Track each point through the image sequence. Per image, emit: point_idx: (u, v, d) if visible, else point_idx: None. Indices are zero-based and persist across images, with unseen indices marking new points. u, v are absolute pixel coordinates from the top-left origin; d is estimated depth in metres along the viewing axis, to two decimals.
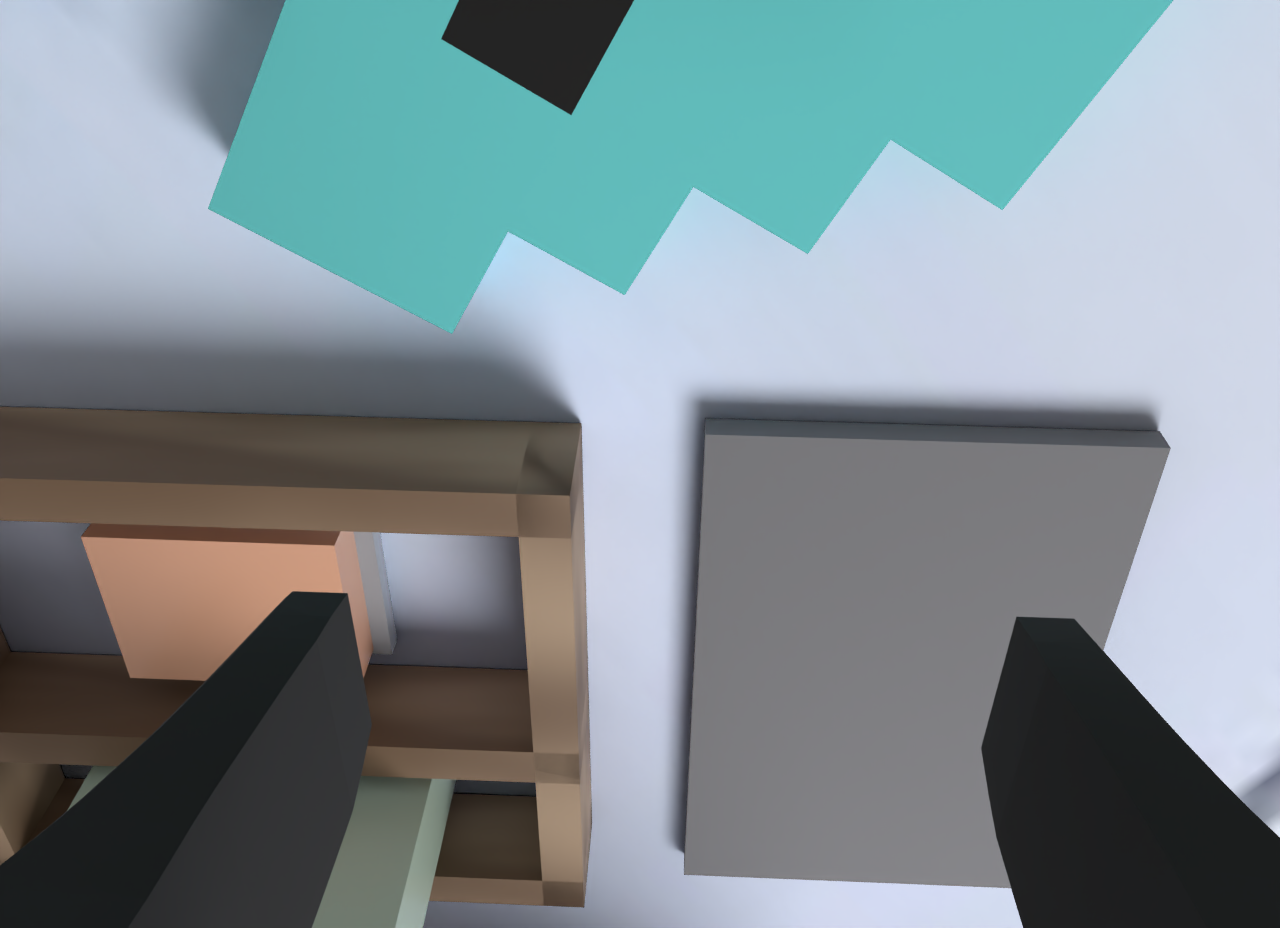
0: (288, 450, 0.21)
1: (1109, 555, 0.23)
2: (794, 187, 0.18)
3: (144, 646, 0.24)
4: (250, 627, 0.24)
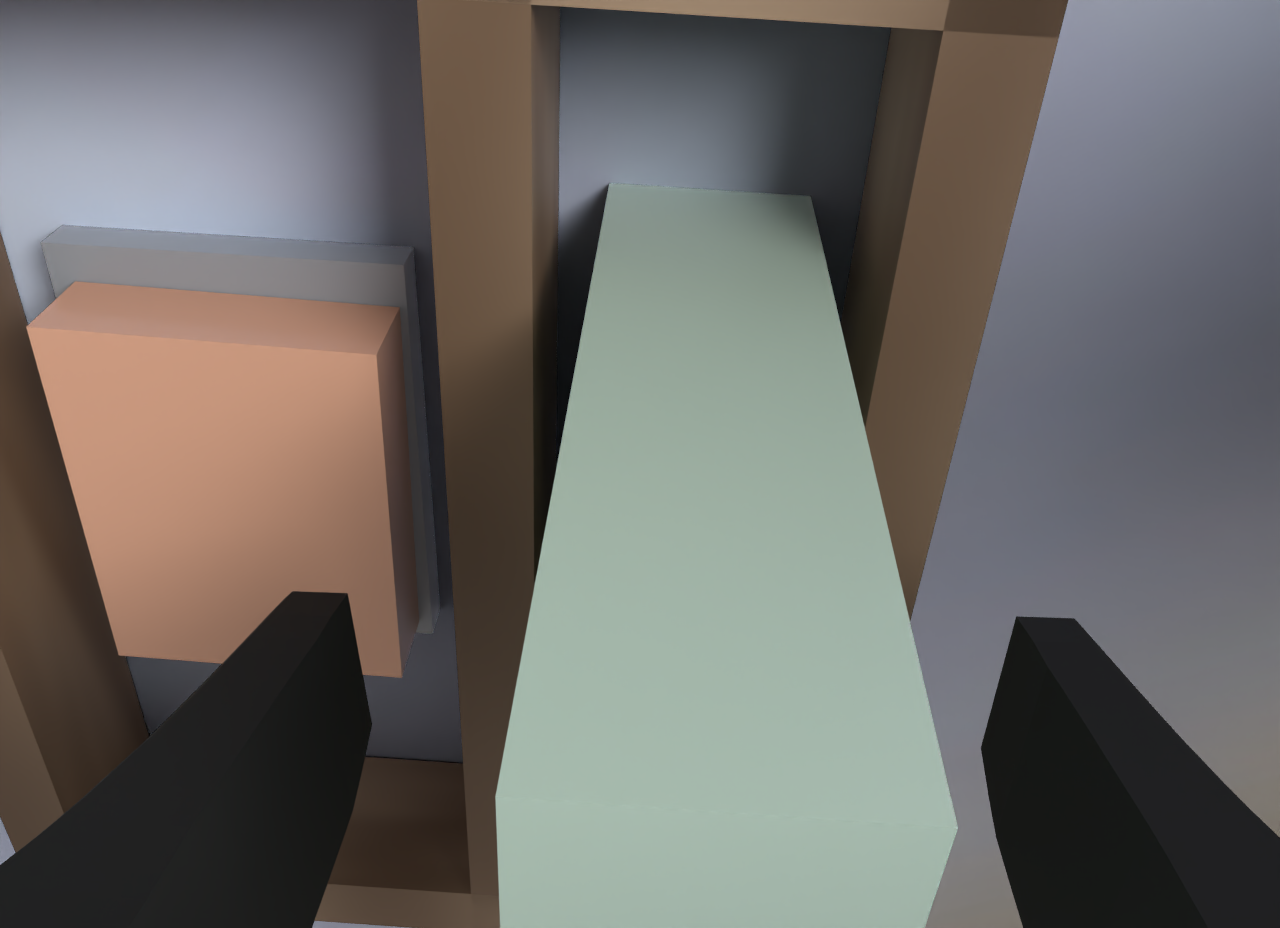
0: None
1: None
2: None
3: None
4: (253, 495, 0.14)
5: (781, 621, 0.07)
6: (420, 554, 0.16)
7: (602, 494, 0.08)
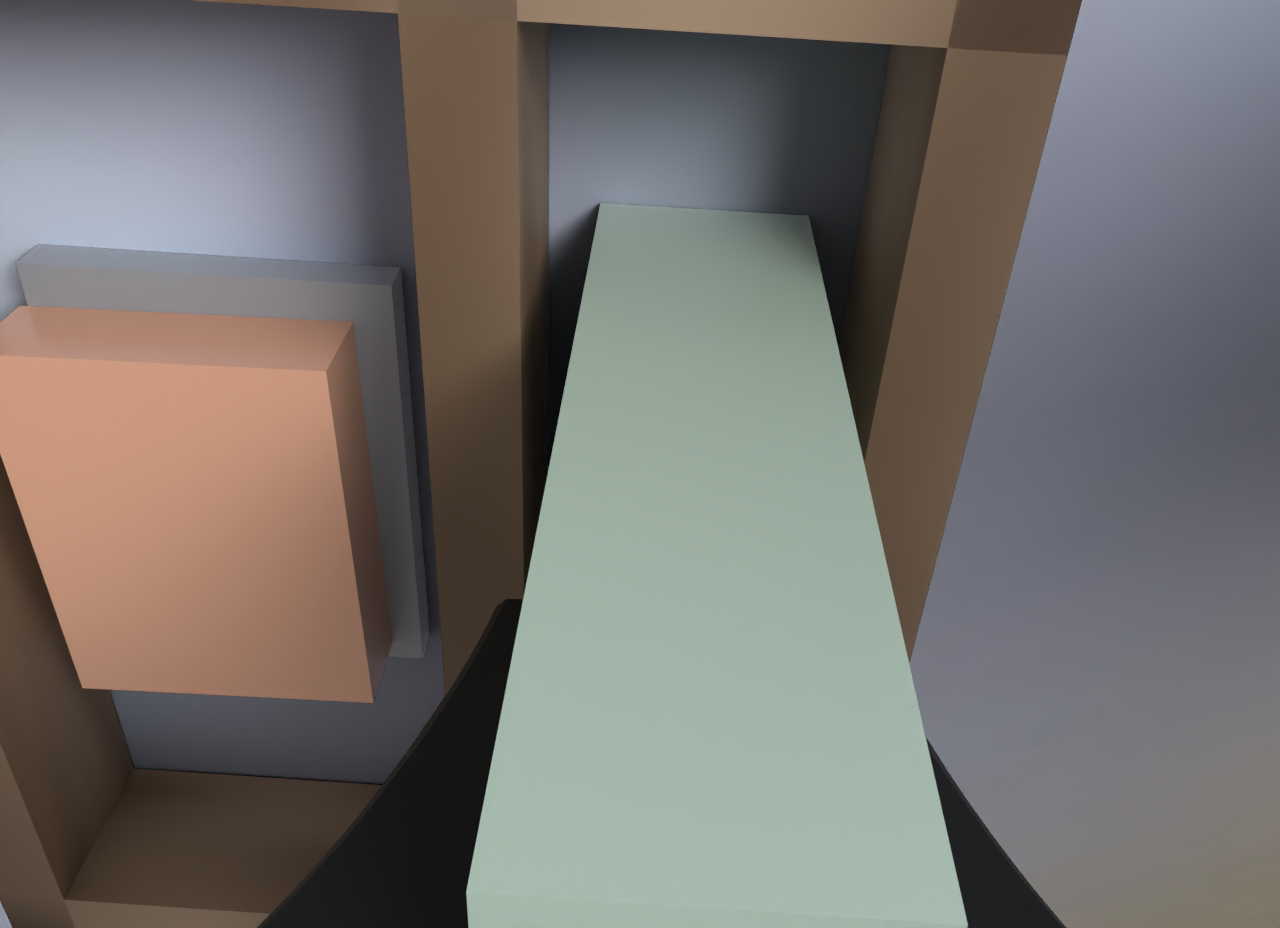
0: None
1: None
2: None
3: (295, 669, 0.15)
4: (208, 520, 0.13)
5: (777, 686, 0.06)
6: (409, 579, 0.15)
7: (587, 543, 0.08)
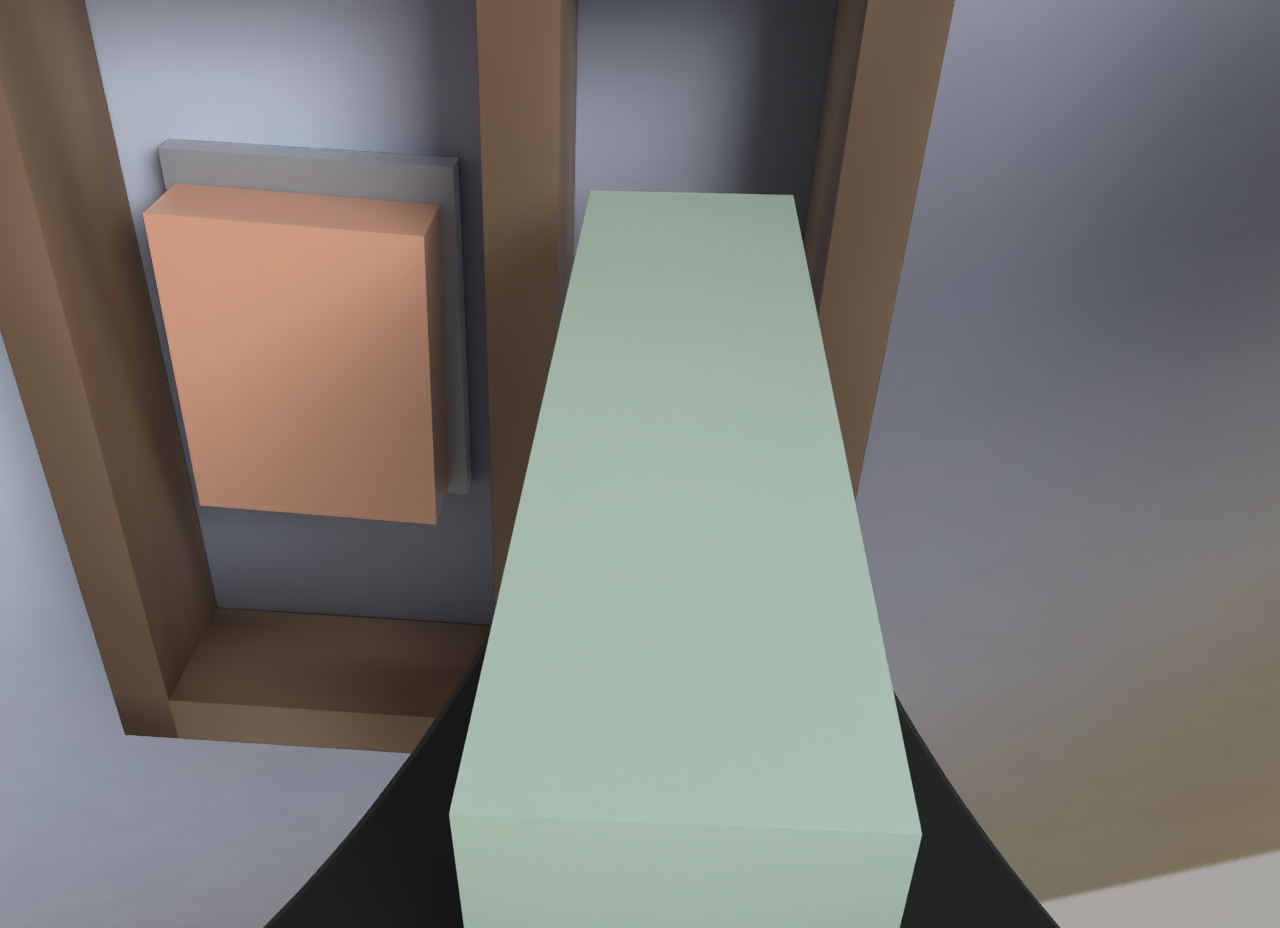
0: None
1: None
2: None
3: (375, 492, 0.18)
4: (319, 359, 0.17)
5: (746, 625, 0.07)
6: (459, 421, 0.19)
7: (571, 501, 0.08)
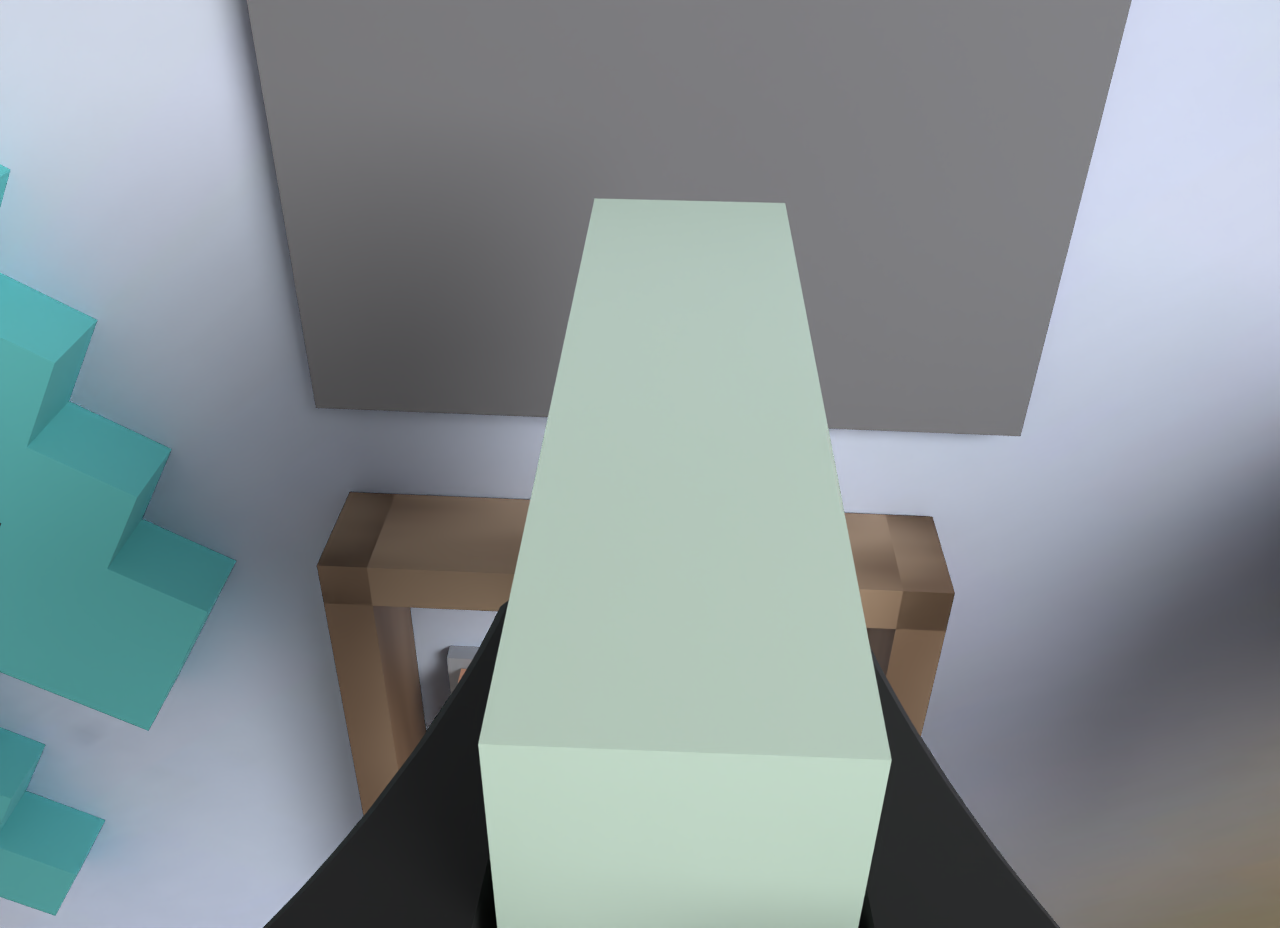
0: None
1: None
2: (0, 375, 0.21)
3: None
4: None
5: (739, 586, 0.08)
6: None
7: (580, 480, 0.09)
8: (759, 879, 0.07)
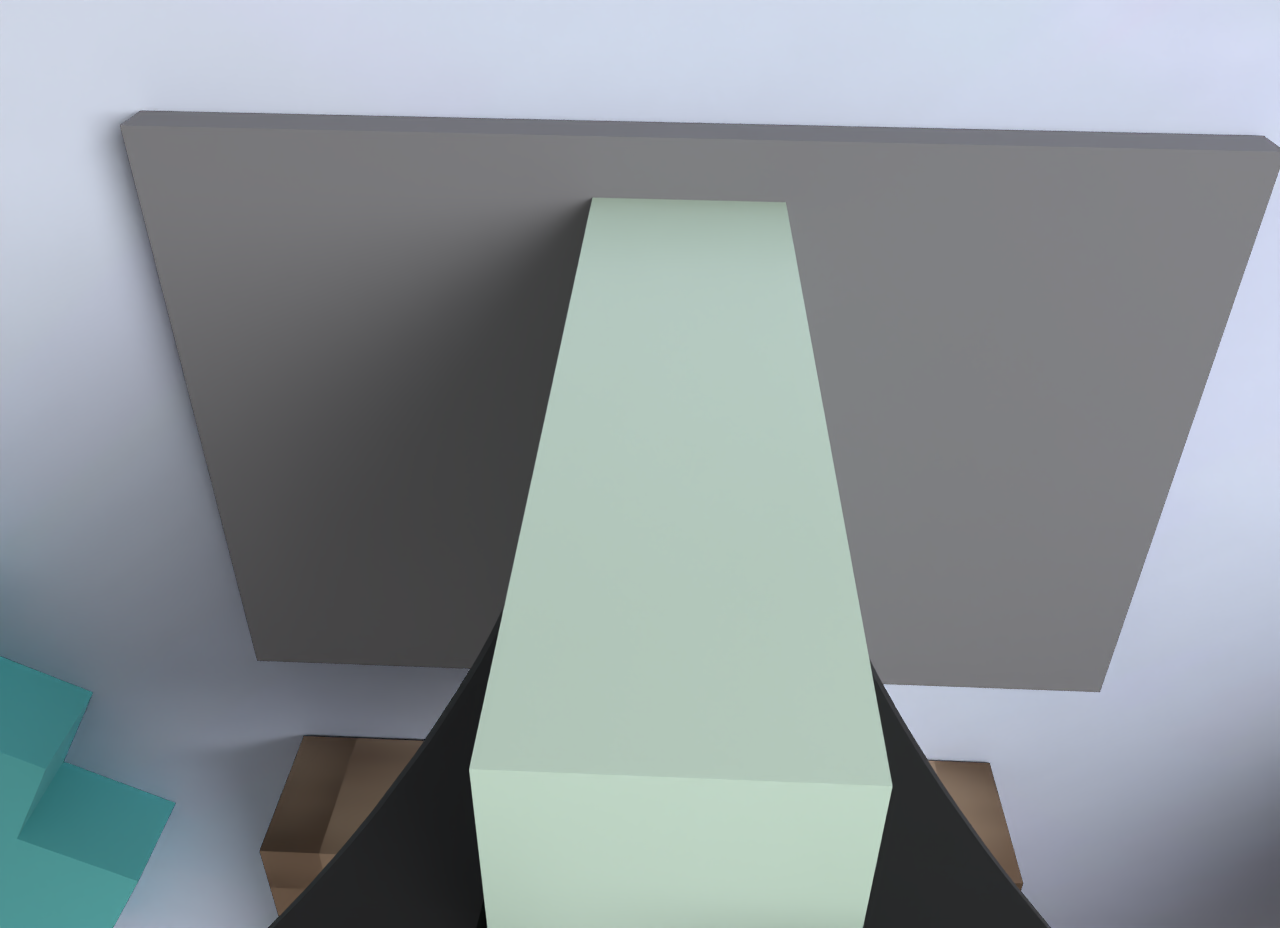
0: None
1: (344, 171, 0.14)
2: None
3: None
4: None
5: (738, 604, 0.07)
6: None
7: (575, 492, 0.09)
8: (756, 902, 0.07)
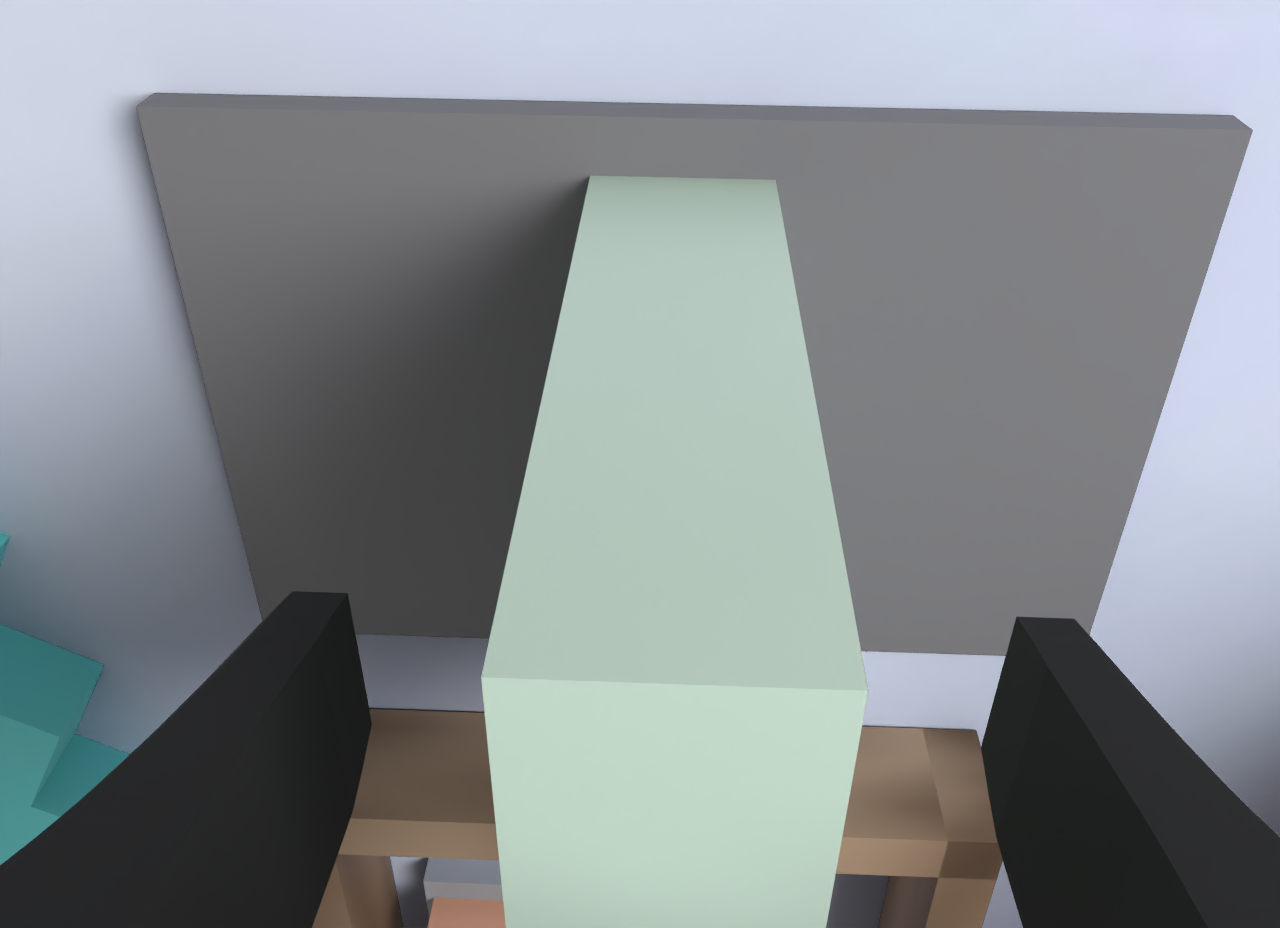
0: None
1: (352, 150, 0.14)
2: None
3: None
4: None
5: (727, 537, 0.08)
6: None
7: (577, 440, 0.09)
8: (744, 807, 0.07)
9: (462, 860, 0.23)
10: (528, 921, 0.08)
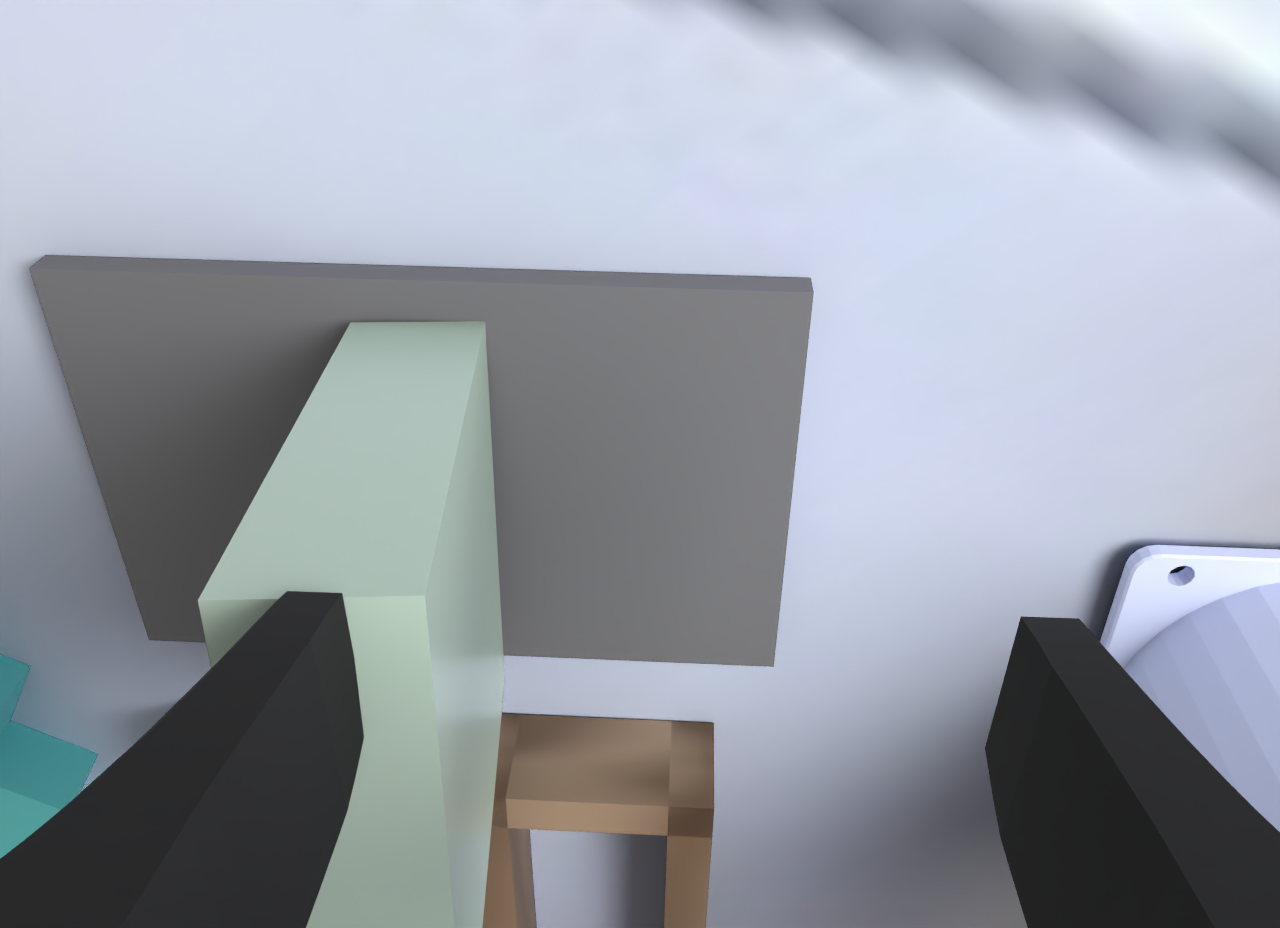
0: None
1: (183, 298, 0.20)
2: None
3: None
4: None
5: (371, 528, 0.13)
6: None
7: (290, 482, 0.14)
8: (371, 683, 0.12)
9: None
10: None
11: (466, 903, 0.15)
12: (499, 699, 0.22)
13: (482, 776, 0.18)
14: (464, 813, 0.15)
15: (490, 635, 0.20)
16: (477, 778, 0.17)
